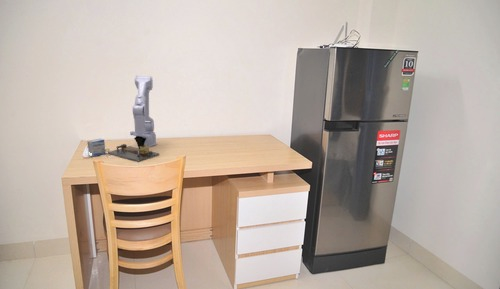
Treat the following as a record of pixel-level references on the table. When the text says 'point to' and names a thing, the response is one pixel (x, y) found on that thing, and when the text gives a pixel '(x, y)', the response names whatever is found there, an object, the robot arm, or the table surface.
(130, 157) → the dark grey flat plate
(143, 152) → the sliding head
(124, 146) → the beam
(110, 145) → the table surface
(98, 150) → the medicine box
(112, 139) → the table surface
